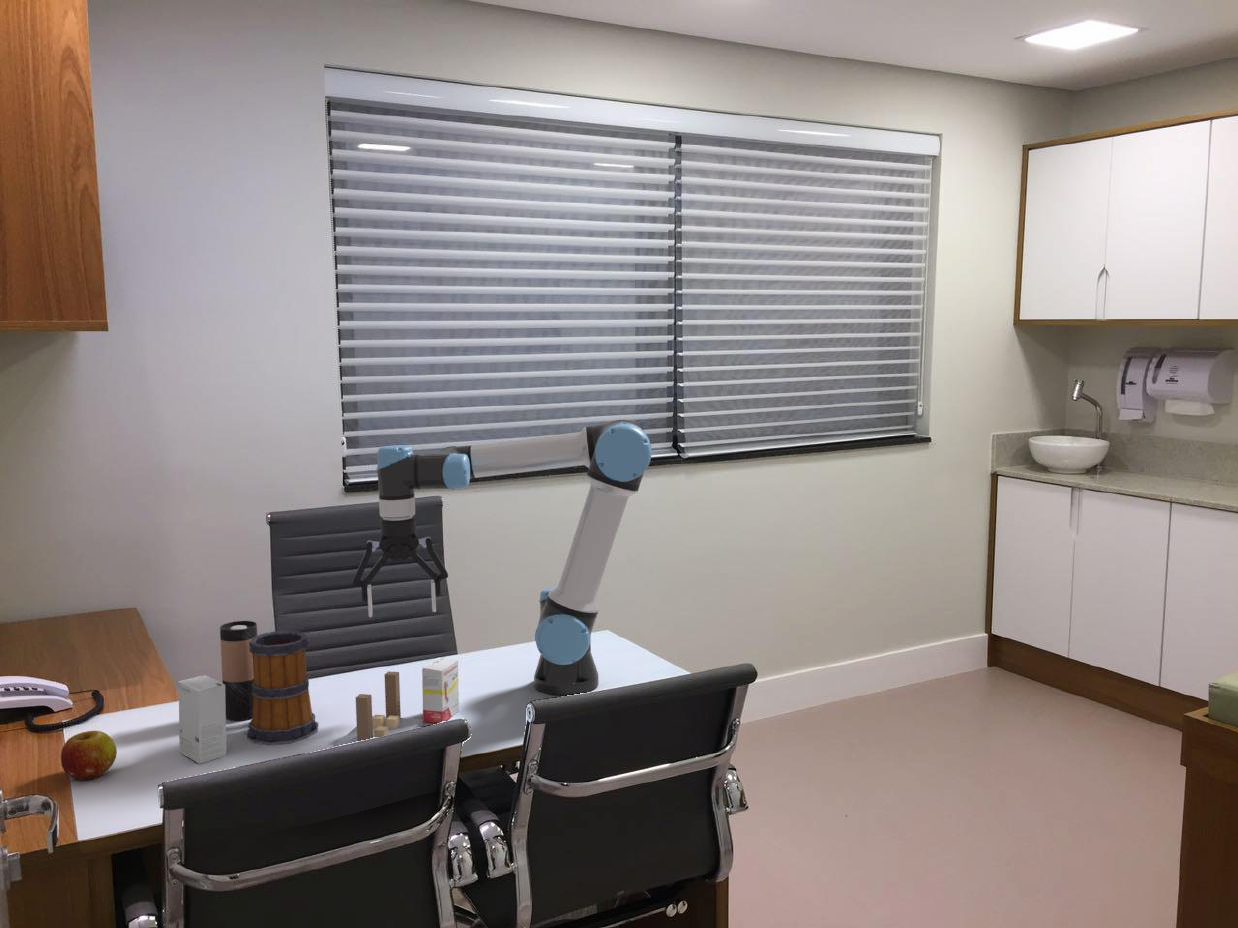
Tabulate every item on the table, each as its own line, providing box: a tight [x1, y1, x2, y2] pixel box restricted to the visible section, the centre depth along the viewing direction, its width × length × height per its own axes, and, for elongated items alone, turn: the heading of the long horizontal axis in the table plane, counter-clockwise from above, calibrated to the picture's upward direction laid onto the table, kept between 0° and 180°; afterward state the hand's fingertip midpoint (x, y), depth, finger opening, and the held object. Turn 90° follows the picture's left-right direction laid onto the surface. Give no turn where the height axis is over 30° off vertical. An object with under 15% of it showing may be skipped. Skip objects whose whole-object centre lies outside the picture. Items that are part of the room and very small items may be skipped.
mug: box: [245, 630, 319, 746], centre depth 213 cm, size 19×14×20 cm
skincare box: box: [177, 674, 227, 764], centre depth 199 cm, size 8×6×15 cm
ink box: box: [421, 657, 460, 724], centre depth 219 cm, size 9×5×12 cm, turn 164°
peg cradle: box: [334, 671, 423, 747], centre depth 207 cm, size 12×16×12 cm
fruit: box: [60, 730, 118, 781], centre depth 191 cm, size 10×9×8 cm
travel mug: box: [219, 620, 258, 722], centre depth 220 cm, size 8×8×20 cm
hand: (402, 613), depth 223 cm, fingers open, 13 cm apart
